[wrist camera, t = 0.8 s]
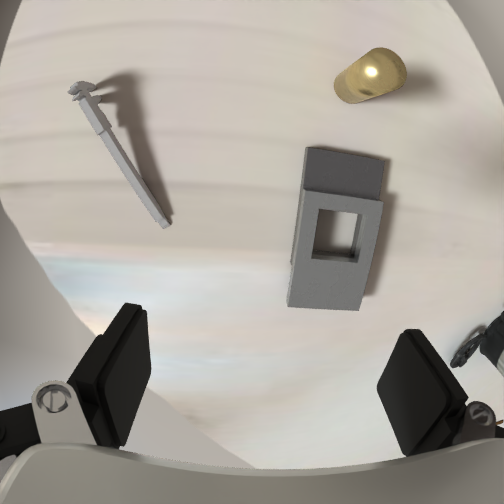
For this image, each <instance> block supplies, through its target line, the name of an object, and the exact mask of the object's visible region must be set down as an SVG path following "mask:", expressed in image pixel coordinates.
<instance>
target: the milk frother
mask: <svg viewBox="0 0 504 504" xmlns="http://www.w3.org/2000/svg"><path fill="white" fill-rule="evenodd" d="M473 344H475V345H474V346H473V348H472V349H471V350H470V352H469V353H468V354H467V355H465V354H466V353H465V352H466V351H467V350H468V349H469V348H470V347H471V346H472V345H473ZM479 344H480V352H481V354H483V355H485V356H486V357H487V358H488V359H489V360H490V361H491V362H492V363H493V365H494V366H495V367H496V368H497V369H498V370H499V372H500V373H501V374H502V375H503V377H504V311H503V312H502V313H501V316H500V317H499V318H497V319H496V320H495V321H494V322H492V324H491V325H490V326H489V327H488V329H487V330H486V331H485V333H484V334H481V335H478V336H476V337H475V338H473V339H472V340H470V341H469V342H468V343H467V344H466V345H465V346H464V347H463V348H462V349H461V350H460V351H459V352H458V353H457V354H456V355H455V356H454V358H453V359H452V361H451V363H450V366H451V367H452V368H456V367H458V366H459V367H462V366H463V365H464V364H465V363H466V362H467V359H469V358H470V357H471V356H472V354H473V353H474V352H475V351H476V349H477V348H478V346H479Z"/></svg>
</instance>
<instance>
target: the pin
mask: <svg viewBox="0 0 504 504" xmlns="http://www.w3.org/2000/svg"><path fill="white" fill-rule="evenodd" d="M406 76H407V72H406V68H405V65H404V63H403V61H402V60H401V58H400V57H399V56H398V55H397V54H396V53H395V52H393V51H391V50H389V49H387V48H375V49H372V50H371V51H369V52H368V53H367V54H365V55H364V56H362V57H361V58H360V59H358V60H357V61H356V62H354V63H353V64H352V65H350V66H349V67H348V68H346V69H345V70H344V71H343V72H341V73H340V74H339V75H338V76H337V77H336V78H335V81H334V89H335V92H336V94H337V95H338V97H339V98H340V99H341V100H343V101H345V102H347V103H351V104H355V103H359V102H362V101H364V100H367V99H370V98H373V97H376V96H379V95H382V94H385V93H388V92H391V91H394V90H397V89H399V88H401V87H402V86H403V85H404V83H405V81H406Z"/></svg>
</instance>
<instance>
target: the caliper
mask: <svg viewBox="0 0 504 504" xmlns="http://www.w3.org/2000/svg"><path fill="white" fill-rule="evenodd" d="M95 88H97V87H96V86H95V85H94V84H92V83H89V82H85V81H79V82H76V83H75V84H73V85H72V86H71V87H70V90H69V91H68V93H69V94H71V95H75V96H74V97H73V99H72V101H76V100H78V101H79V102H80V103H79V105H80V107H81V109H82V110H83V112H84V114H85V115H86V117H87V119H88V120H89V122H90V124H91V125H92V127H93V129H94V130H95V132H96V134H97V135H99V136H100V137H101V139H102V140H103V142H104V144H105V145H106V147H107V149H108V150H109V152H110V153H111V155H112V157H113V158H114V160H115V161H116V163H117V164H118V166H119V168H120V169H121V171H122V172H123V174H124V175H125V177H126V178H127V180H128V181H129V183H130V185H131V186H132V188H133V189H134V191H135V192H136V194H137V195H138V197H139V198H140V200H141V201H142V203H143V204H144V206H145V207H146V208H147V210H148V211H149V213H150V214H151V216H152V217H153V219H154V220H155V222H158V223H159V225H160V226H161V227H162V228H163V229H164V228H166V227H168V226H169V225H170V223H169V222H168V220H167V219H166V217H165V216H164V213H163V211H162V209H161V208H160V206H159V204H158V202H157V201H156V199H155V198H154V196H153V195H152V193H151V192H150V190H149V189H148V187H147V186H146V184H145V183H144V181H143V180H142V178H141V177H140V175H139V174H138V172H137V170H136V169H135V167H134V166H133V164H132V163H131V161H130V159H129V158H128V156H127V155H126V153H125V151H124V150H123V148H122V147H121V145H120V143H119V142H118V140H117V139H116V137H115V135H114V134H113V132H112V130H111V129H110V128H111V127H112V126H111V124H110V123H109V121H108V120H107V118H106V116H105V114H104V113H103V112H102V111H101V110H100V108H99V107H98V103H99V102H100V101H101V99H102V97H101V95H96V96H93V97H91V95H90V93H89V92H91V91H93V90H94V89H95Z"/></svg>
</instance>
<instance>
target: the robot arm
mask: <svg viewBox="0 0 504 504" xmlns="http://www.w3.org/2000/svg"><path fill="white" fill-rule="evenodd" d="M150 375H151V359H150V349H149V336H148V322H147V311H146V310H142V306H141V305H137V304H131V303H125V304H124V305H123V306H122V308H121V309H120V311H119V312H118V313H117V315H116V316H115V318H114V319H113V321H112V322H111V324H110V325H109V327H108V328H107V329H106V331H105V332H104V334H103V335H102V334H100V335H98V336H97V337H96V338H95V340H94V341H93V343H92V344H91V346H90V347H89V349H88V350H87V352H86V353H85V355H84V356H83V358H82V359H81V361H80V362H79V364H78V365H77V367H76V369H75V370H74V372H73V373H72V375H71V376H70V378H69V380H68V381H67V383H65V382H62V381H56V380H55V381H48V382H45V383H43V384H41V385H40V386H38V387H37V388H36V389H35V391H34V392H33V395H32V403H29V404H25V405H22V406H18V407H14V408H10V409H7V410H3V411H0V504H504V428H502V427H500V426H497V425H496V416H495V413H494V411H493V410H492V409H491V408H490V407H489V406H488V405H487V404H485V403H483V402H479V401H473V402H471V403H469V404H468V405H467V406H466V405H465V402H466V401H467V399H468V398H469V397H468V396H467V394H466V393H465V391H464V390H463V388H462V387H461V385H460V384H459V382H458V381H457V379H456V378H455V376H454V375H453V374H452V372H451V371H450V369H449V368H448V367H447V365H446V364H445V362H444V361H443V360H442V358H441V357H440V355H439V354H438V353H437V351H436V350H435V349H434V347H433V346H432V345H431V343H430V342H429V340H428V339H427V338H426V337H425V335H424V334H423V333H422V331H421V330H420V329H406V330H405V331H404V332H403V333H401V334H400V336H399V338H398V341H397V343H396V345H395V347H394V350H393V352H392V354H391V356H390V359H389V361H388V363H387V365H386V367H385V369H384V371H383V373H382V375H381V378H380V380H379V382H378V384H377V392H378V394H379V397H380V399H381V401H382V404H383V406H384V409H385V411H386V413H387V416H388V418H389V421H390V423H391V426H392V428H393V431H394V433H395V436H396V438H397V441H398V443H399V446H400V448H401V451H402V453H403V454H404V455H406V457H404V458H399V459H394V460H388V461H382V462H375V463H368V464H361V465H353V466H343V467H332V468H316V469H247V468H233V467H232V468H231V467H221V466H211V465H203V464H195V463H188V462H181V461H174V460H169V459H163V458H158V457H152V456H147V455H143V454H138V453H133V452H128V451H123V450H119V447H120V446H125V444H126V442H127V439H128V436H129V433H130V430H131V427H132V424H133V421H134V419H135V416H136V413H137V410H138V408H139V405H140V402H141V399H142V397H143V394H144V391H145V388H146V386H147V383H148V380H149V378H150Z"/></svg>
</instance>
